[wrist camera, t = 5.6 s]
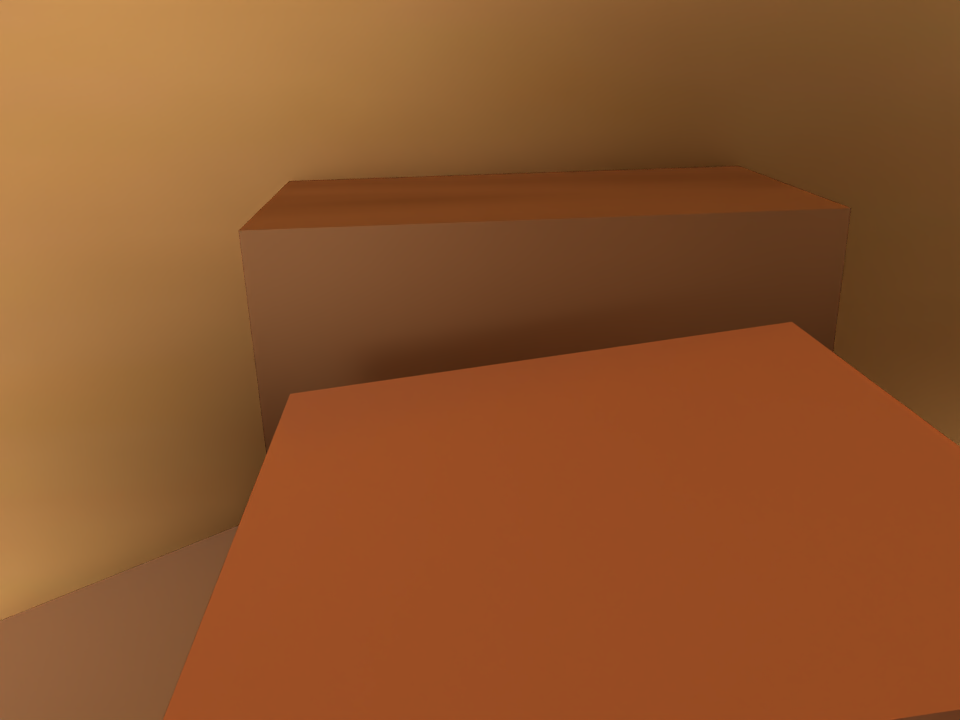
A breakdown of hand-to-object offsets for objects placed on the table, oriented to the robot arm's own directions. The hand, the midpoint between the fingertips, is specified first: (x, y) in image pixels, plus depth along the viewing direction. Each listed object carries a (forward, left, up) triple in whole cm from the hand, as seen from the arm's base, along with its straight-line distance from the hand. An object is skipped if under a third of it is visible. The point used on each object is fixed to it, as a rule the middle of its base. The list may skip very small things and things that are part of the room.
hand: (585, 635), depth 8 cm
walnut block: (0, 0, -7) cm, 7 cm away
